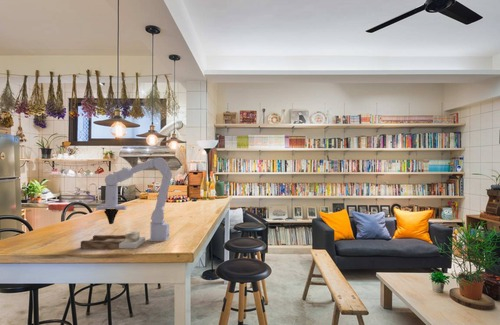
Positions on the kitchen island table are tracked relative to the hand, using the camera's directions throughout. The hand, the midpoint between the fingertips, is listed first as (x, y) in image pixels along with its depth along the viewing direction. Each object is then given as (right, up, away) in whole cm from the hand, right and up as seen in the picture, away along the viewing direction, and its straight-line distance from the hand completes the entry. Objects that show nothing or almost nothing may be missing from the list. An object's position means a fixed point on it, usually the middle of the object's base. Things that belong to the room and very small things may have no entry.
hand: (111, 223), depth 146 cm
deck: (+4, -9, -5) cm, 11 cm away
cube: (+13, -7, -5) cm, 16 cm away
